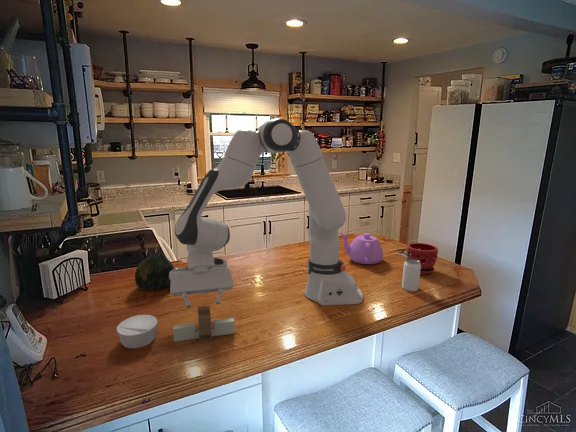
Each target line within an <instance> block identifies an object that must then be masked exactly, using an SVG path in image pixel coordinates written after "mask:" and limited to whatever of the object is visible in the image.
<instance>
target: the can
mask: <svg viewBox="0 0 576 432" xmlns="http://www.w3.org/2000/svg"><path fill="white" fill-rule="evenodd" d="M420 270H421V265H420V261H419V260H417V259H407V258H406V259H405V261H404V263H403V270H402V277H401V278H402V280H401V288H402V289H403V290H404V289H405V290H404V291H406V290H408V291H407V292H411V291H414V292H416V291H418V290H419V286H420V276H421V274H420Z"/></svg>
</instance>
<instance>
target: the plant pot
mask: <svg viewBox="0 0 576 432" xmlns="http://www.w3.org/2000/svg"><path fill="white" fill-rule="evenodd" d="M438 252H439V248H438V247H437V246H435V245H434V244H430V243H429V244H428V243H423V242H412V243H408V244H407V248H406V257H407V258H406V259H417V260H419V261H420V265H421V270H420V275H426V274H427V275H429V274H432V273H434V271H435V267H434V266H435V264H436V263H437V259H438V254H439V253H438Z"/></svg>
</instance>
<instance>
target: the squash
mask: <svg viewBox="0 0 576 432" xmlns="http://www.w3.org/2000/svg"><path fill="white" fill-rule="evenodd" d="M171 270H174V265H173V263H172V262H171V261H170V260H169V258H168V257H167V256H166V255H165V254H164V253H163V252H156V253H154V254H152V255H149V256H148V257H146V258H145V259H143V260H140V262H139V263H138V265H137V267H136V269H135V273H134V281H135V284H136V287H138V288H139V289H140V290H146V291H152V290H154V289H155V290H159V289H162V288H165V287H169V286H170V284H171V281H170V279H169V273H170V271H171Z"/></svg>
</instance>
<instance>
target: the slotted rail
mask: <svg viewBox="0 0 576 432" xmlns="http://www.w3.org/2000/svg"><path fill="white" fill-rule="evenodd" d="M212 322H213V325H211V337H212V338H213V337H219V336H225V335H226V336H227V335H233V334H235V333H236V332H235V331H236V329H235V318H234V317H227V318H220V319H213V321H212ZM172 329H173V332H172V333H173V342H174V343H176V342H183V341H188V340H189V341H190V340H198V339H199V327H198V328H197V327H196V322H188V323H182V324H173V328H172Z"/></svg>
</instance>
